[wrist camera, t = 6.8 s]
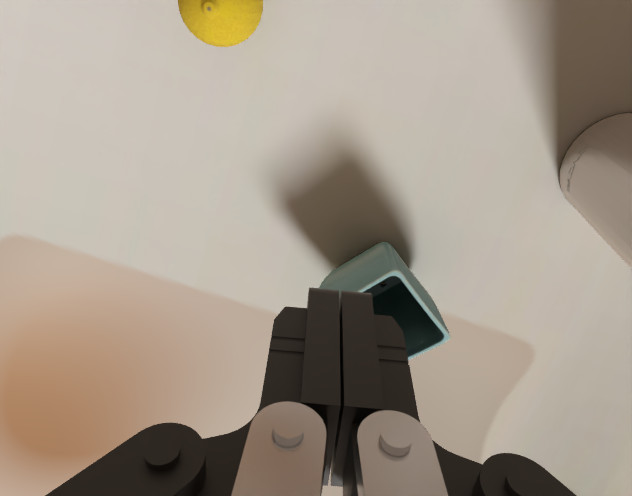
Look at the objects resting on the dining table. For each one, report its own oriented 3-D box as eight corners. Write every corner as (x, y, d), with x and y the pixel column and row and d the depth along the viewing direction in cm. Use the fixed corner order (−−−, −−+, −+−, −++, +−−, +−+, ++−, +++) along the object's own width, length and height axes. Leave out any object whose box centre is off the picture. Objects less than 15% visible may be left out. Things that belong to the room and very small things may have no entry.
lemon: (184, 16, 38) (152, 30, 31) (209, -61, 35) (180, -64, 29) (251, 50, 39) (234, 71, 32) (280, -22, 37) (268, -15, 30)
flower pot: (310, 262, 49) (306, 320, 41) (386, 215, 46) (397, 268, 39) (361, 319, 53) (366, 383, 45) (434, 278, 50) (453, 339, 42)
